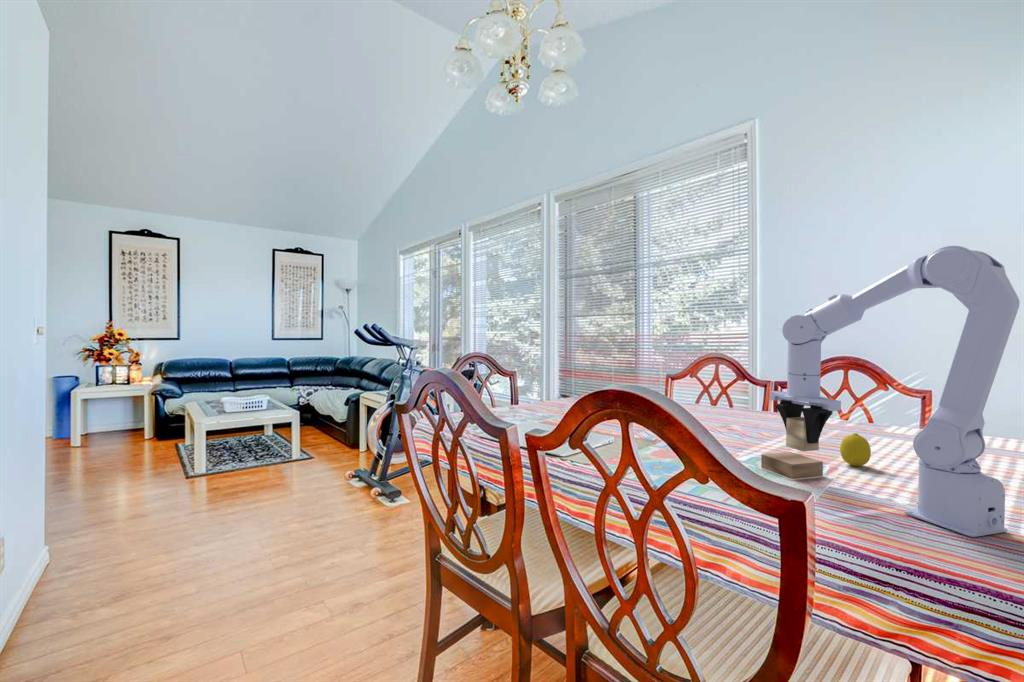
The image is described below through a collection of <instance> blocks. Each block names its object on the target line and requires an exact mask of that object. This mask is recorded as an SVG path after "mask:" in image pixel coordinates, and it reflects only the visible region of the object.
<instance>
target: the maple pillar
mask: <svg viewBox="0 0 1024 682" xmlns="http://www.w3.org/2000/svg"><path fill="white" fill-rule="evenodd" d="M785 433H786V435H785V437H786V438H785V439H786V440H785V447H787V448H790V449H794V450H797V451H800V452H810V451H811V452H812V451H820V447H819V446H820V440H819V441H818V443H811V444H810V443H807V438H806V424H805V419H804V416H801V417H793V418H787V422H786V428H785Z"/></svg>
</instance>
